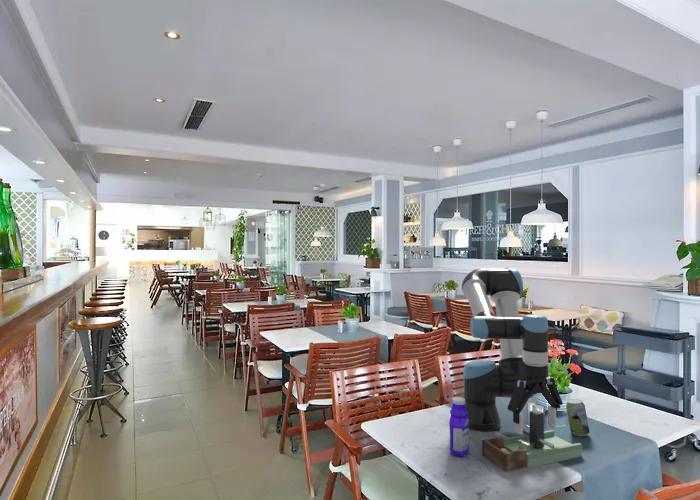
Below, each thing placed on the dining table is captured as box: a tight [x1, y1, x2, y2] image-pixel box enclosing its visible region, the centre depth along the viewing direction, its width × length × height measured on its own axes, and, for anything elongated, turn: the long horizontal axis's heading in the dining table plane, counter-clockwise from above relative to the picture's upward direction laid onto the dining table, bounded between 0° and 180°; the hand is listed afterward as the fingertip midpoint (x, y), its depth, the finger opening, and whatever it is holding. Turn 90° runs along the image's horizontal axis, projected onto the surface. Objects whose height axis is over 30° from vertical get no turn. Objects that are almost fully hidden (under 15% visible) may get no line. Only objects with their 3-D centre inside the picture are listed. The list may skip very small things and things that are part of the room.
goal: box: [481, 435, 527, 472], centre depth 133 cm, size 8×11×5 cm
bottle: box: [448, 396, 470, 458], centre depth 139 cm, size 7×6×17 cm
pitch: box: [504, 429, 583, 469], centre depth 138 cm, size 22×12×4 cm, turn 110°
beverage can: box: [565, 398, 590, 437], centre depth 154 cm, size 6×7×12 cm
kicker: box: [518, 409, 554, 451], centre depth 137 cm, size 7×13×11 cm, turn 20°
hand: (535, 430), depth 138 cm, fingers open, 13 cm apart
